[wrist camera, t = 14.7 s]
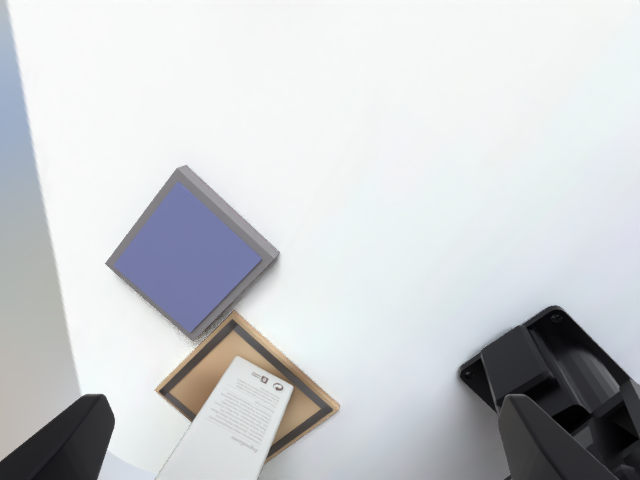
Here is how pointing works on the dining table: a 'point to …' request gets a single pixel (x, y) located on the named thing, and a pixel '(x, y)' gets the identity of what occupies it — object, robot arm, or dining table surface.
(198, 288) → the ink pad
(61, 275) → the dining table surface
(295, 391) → the marked board
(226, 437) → the skincare box
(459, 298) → the dining table surface
